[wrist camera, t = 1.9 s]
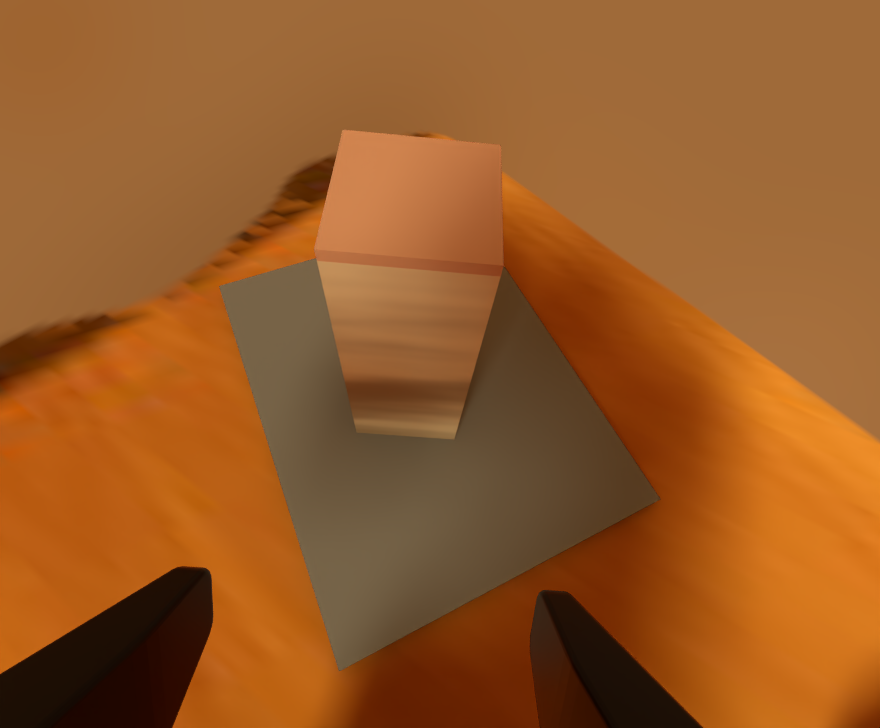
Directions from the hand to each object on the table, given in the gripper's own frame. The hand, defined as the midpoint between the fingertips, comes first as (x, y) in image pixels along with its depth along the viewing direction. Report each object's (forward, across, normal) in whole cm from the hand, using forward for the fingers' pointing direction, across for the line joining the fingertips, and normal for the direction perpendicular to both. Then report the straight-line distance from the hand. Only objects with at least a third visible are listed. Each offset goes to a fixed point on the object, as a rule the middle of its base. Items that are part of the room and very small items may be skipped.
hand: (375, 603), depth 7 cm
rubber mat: (+17, 0, +2) cm, 17 cm away
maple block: (+16, 0, +2) cm, 16 cm away
